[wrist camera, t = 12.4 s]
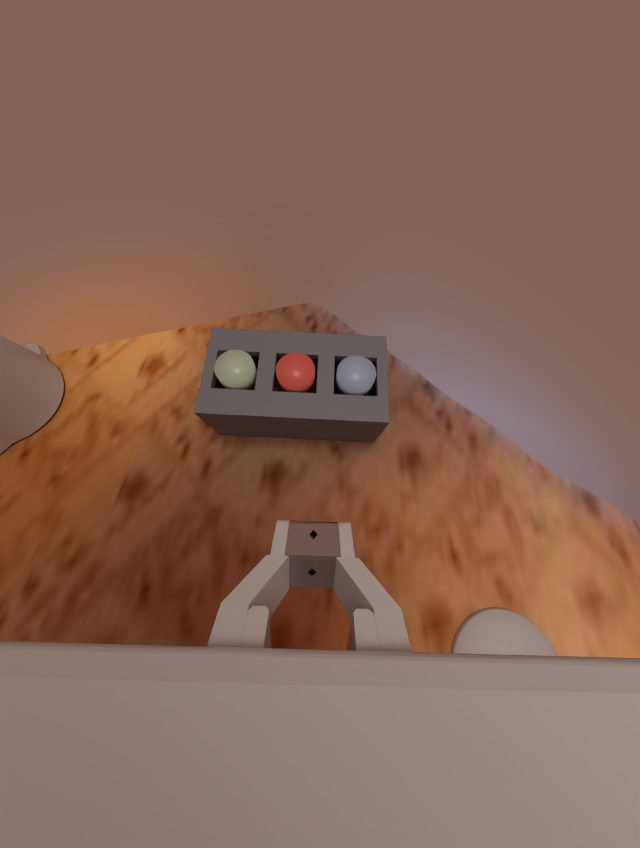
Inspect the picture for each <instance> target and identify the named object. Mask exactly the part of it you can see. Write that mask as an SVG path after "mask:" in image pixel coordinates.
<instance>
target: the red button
mask: <svg viewBox="0 0 640 848" xmlns="http://www.w3.org/2000/svg"><path fill="white" fill-rule="evenodd" d="M276 375H277V379H278V383H279V386H280V389H281V391H282V392H299V393H311V392H312V391H313V389H314V386H315V366H314V363H313V361H312V360H311V359H310V358H309V357H308V356H307V355H305V354H302V353H289V354H287V355H285V356H283V357H282V358H281V359H280V360H279V361H278V363H277V365H276Z"/></svg>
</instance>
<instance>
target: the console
mask: <svg viewBox="0 0 640 848" xmlns="http://www.w3.org/2000/svg"><path fill="white" fill-rule="evenodd" d="M229 350H242V351H245V352H246V353H248V354H249V355H250V356H251V358H252V359H253V362H254V364H255V367H256V369H257V377H256V384H255V390H239V389H225V388H224V386H223V385H222V383H221V382H220V381H219V379H218V378H217V376H216V375H215V372H214V365H215V362H216V360H217V359H218V357H219V356H220V355H221V354H223V353H224V352H227V351H229ZM289 353H302V354H305V355H307V356H308V357H309V358H310V359H311V360H312V361H313V363H314V366H315V373H317V389H316V393H299V392H279V391H274V382H275V373H276V365H277V363H278V361H279V360H280V359H281V358H282V357H283V356H285V355H287V354H289ZM349 356H362V357H365V358H367V359H368V360H370V361H371V362H372V363H373V365H374V367H375V369H376V379H375V381H374V383H373V386H372V388H371V390H370V392H369V394H368V396H360V395H340V394H334V374H337V368H338V366H339V364H340V362H341V361H342V360H343V359H345V358H347V357H349ZM194 413H195V414H196V415H197V416H199V417H200V418H201V419H202V420H203V421H205V422H206V423H207V424H208V425H209V426H210V427H212V428H213V429H214V430H215V431H216V432H218V433H219V434H220V435H241V436H261V437H281V438H301V439H321V440H341V441H362V442H374V441H375V440H376V439H377V437H378V436H379V435H380V434H381V432H382V431H383V430H384V429H385V427H386V426H387V425H388V424H389V397H388V371H387V345H386V337H382V336H363V335H343V334H323V333H303V332H283V331H263V330H243V329H223V328H212V331H211V336H210V340H209V345H208V350H207V355H206V359H205V364H204V369H203V374H202V378H201V383H200V388H199V393H198V398H197V402H196V407H195V412H194Z"/></svg>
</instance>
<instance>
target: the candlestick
mask: <svg viewBox="0 0 640 848" xmlns="http://www.w3.org/2000/svg"><path fill="white" fill-rule="evenodd" d="M451 653H464V654H501V655H538V656H557V654H556V652H555V650H554V648H553V647H552V645H551V643H550V642H549V640H548V639H547V638H546V636H545V635H544V634H543V633H542V632H541V630H540V629H539V628H538V627H537V626H535V625H534V624H533V623H532V622H531V621H529V620H528V619H527V618H525V617H523V616H522V615H520V614H518V613H516V612H513V611H511V610H508V609H504V608H497V607H491V608H485V609H481V610H479V611H476V612H474V613H473V614H471V615H470V616H469V617H467V618H466V619H465V620H464V622H463V623H462V624H461V625H460V627H459V629H458V630H457V632H456V635H455V637H454V640H453V644H452V648H451Z"/></svg>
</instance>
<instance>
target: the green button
mask: <svg viewBox="0 0 640 848" xmlns="http://www.w3.org/2000/svg"><path fill="white" fill-rule="evenodd" d="M214 372H215V375H216V376H217V378H218V379H219V381H220V382H221V383H222V385H223V386H224V388H225V389H239V390H255V384H256V377H257V369H256V367H255V364H254V362H253V359H252V358H251V356H250V355H249V354H248V353H246V352H245V351H242V350H229V351H227V352H224V353H223V354H221V355H220V356H219V357H218V359H217V360H216V362H215V365H214Z"/></svg>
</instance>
